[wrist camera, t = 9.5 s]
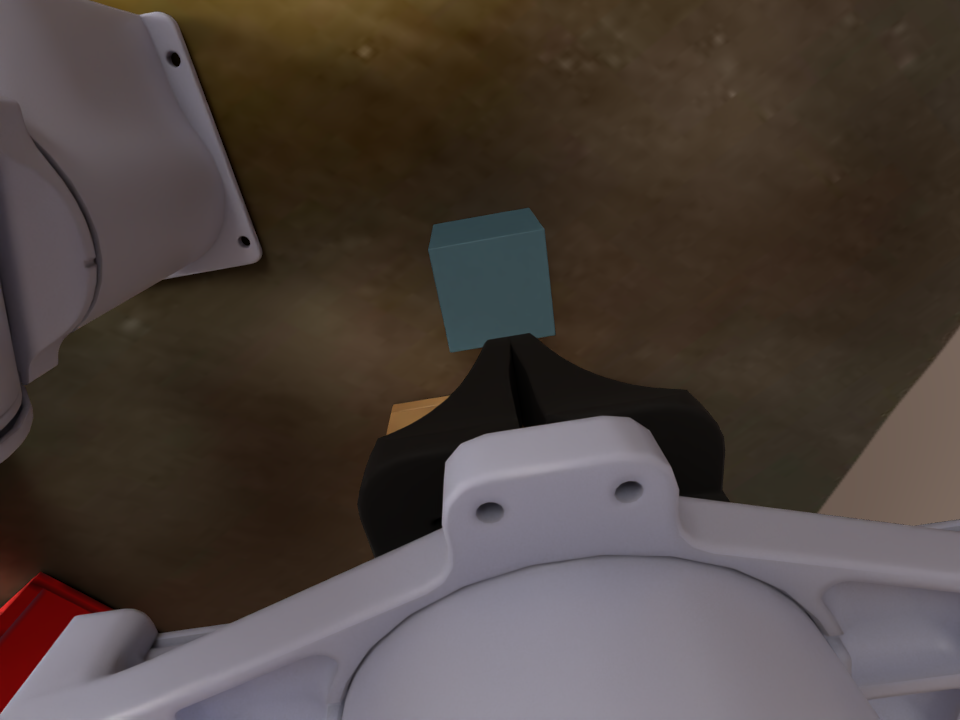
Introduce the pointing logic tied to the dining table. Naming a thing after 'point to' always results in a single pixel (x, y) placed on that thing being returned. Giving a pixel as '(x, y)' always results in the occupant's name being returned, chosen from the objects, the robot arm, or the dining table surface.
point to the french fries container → (35, 627)
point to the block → (492, 278)
